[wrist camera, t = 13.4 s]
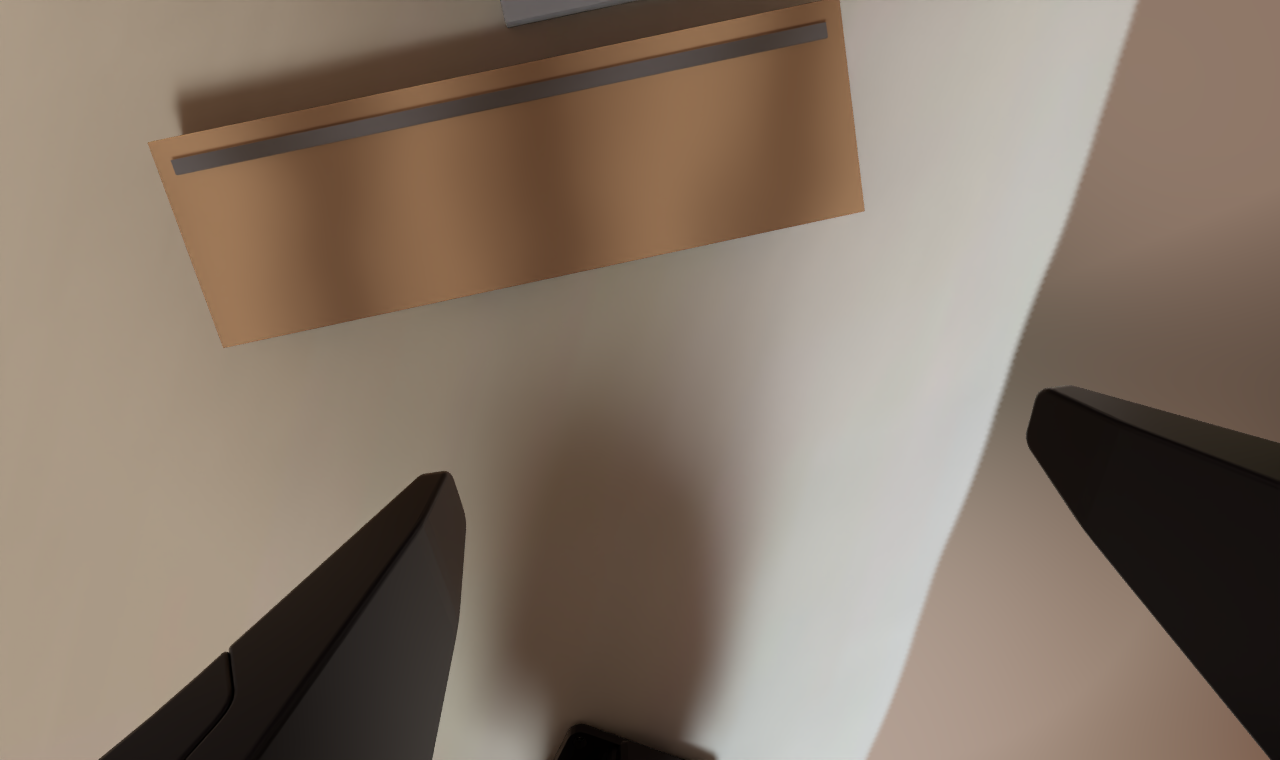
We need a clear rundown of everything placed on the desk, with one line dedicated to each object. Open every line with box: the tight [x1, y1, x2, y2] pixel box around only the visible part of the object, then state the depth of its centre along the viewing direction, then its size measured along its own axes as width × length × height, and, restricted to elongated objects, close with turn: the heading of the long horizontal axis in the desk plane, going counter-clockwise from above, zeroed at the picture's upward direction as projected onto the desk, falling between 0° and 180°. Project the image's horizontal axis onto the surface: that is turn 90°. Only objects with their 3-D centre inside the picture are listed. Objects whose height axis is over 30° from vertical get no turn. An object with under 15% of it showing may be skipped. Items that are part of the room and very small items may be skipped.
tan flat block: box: [148, 0, 865, 348], centre depth 18 cm, size 20×6×2 cm, turn 102°
